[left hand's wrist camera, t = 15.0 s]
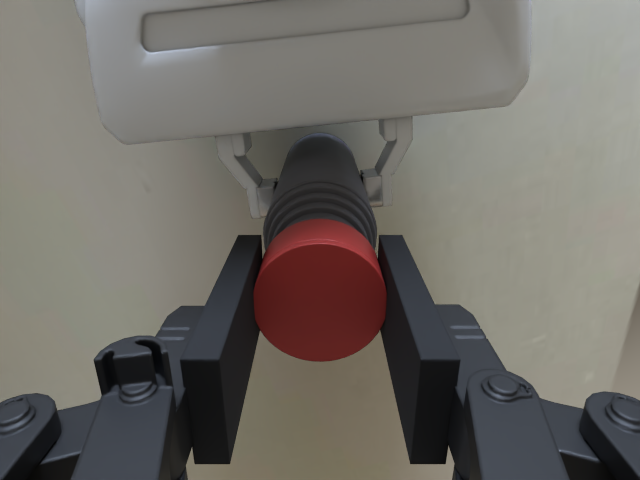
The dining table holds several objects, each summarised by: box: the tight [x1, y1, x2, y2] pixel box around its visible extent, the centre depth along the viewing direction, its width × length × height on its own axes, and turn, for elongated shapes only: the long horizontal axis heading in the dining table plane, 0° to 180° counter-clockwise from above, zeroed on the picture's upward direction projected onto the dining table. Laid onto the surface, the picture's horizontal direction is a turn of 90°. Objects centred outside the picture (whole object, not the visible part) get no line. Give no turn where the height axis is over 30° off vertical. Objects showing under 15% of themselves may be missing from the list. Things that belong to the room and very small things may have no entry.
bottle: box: [263, 133, 377, 251], centre depth 21 cm, size 5×5×18 cm
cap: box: [253, 219, 387, 362], centre depth 14 cm, size 4×4×2 cm
